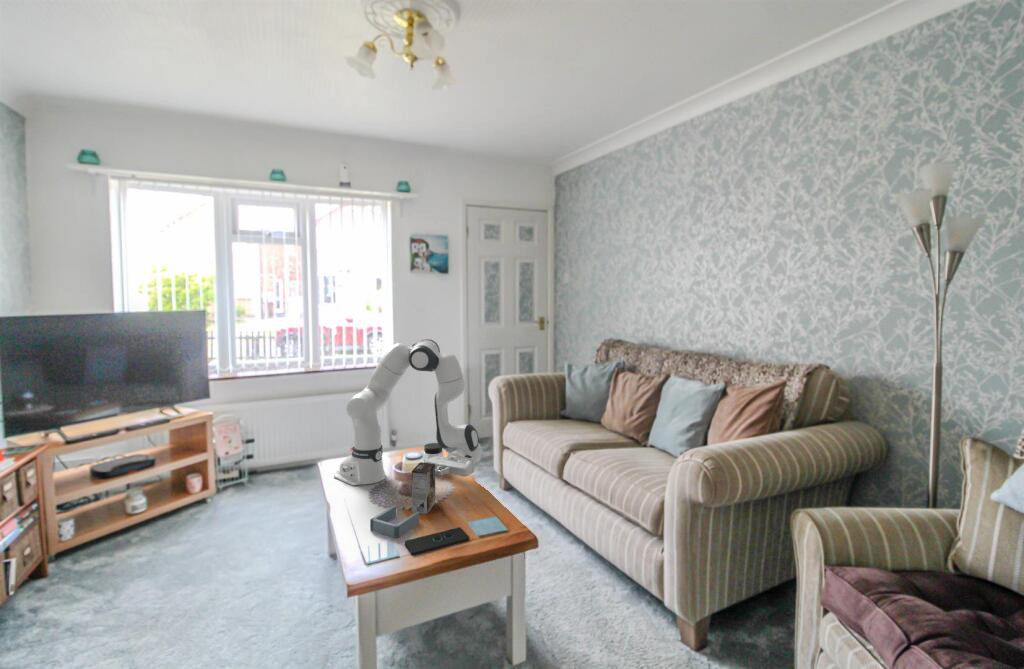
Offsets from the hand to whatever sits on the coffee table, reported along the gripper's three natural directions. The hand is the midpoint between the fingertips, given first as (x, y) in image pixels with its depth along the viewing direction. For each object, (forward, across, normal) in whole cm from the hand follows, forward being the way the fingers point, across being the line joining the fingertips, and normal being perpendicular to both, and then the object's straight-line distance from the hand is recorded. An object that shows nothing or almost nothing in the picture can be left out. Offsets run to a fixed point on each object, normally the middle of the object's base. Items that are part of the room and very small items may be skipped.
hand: (437, 472), depth 191 cm
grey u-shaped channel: (+25, -1, +11) cm, 27 cm away
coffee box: (+9, -1, +11) cm, 14 cm away
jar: (-23, -19, +11) cm, 32 cm away
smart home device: (+27, +18, +12) cm, 35 cm away
